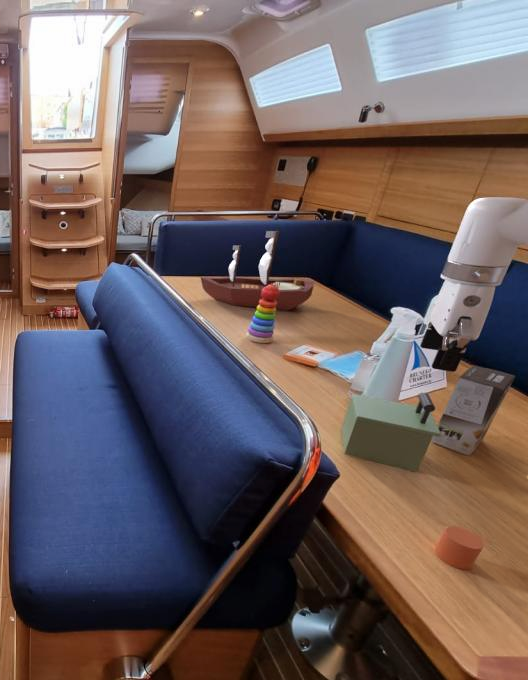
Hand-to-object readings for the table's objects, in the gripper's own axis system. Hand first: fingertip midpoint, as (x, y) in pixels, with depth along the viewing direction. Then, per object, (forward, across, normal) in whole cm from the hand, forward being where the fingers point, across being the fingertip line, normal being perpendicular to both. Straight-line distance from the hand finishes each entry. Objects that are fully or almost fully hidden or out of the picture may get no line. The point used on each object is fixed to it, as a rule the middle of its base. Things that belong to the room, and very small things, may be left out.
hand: (436, 358), depth 80 cm
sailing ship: (+22, +85, +36) cm, 95 cm away
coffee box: (+22, +8, -10) cm, 25 cm away
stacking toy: (+22, +48, +30) cm, 60 cm away
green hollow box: (+21, -3, +4) cm, 22 cm away
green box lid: (+13, -3, +4) cm, 13 cm away
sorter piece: (+21, -29, -3) cm, 36 cm away
